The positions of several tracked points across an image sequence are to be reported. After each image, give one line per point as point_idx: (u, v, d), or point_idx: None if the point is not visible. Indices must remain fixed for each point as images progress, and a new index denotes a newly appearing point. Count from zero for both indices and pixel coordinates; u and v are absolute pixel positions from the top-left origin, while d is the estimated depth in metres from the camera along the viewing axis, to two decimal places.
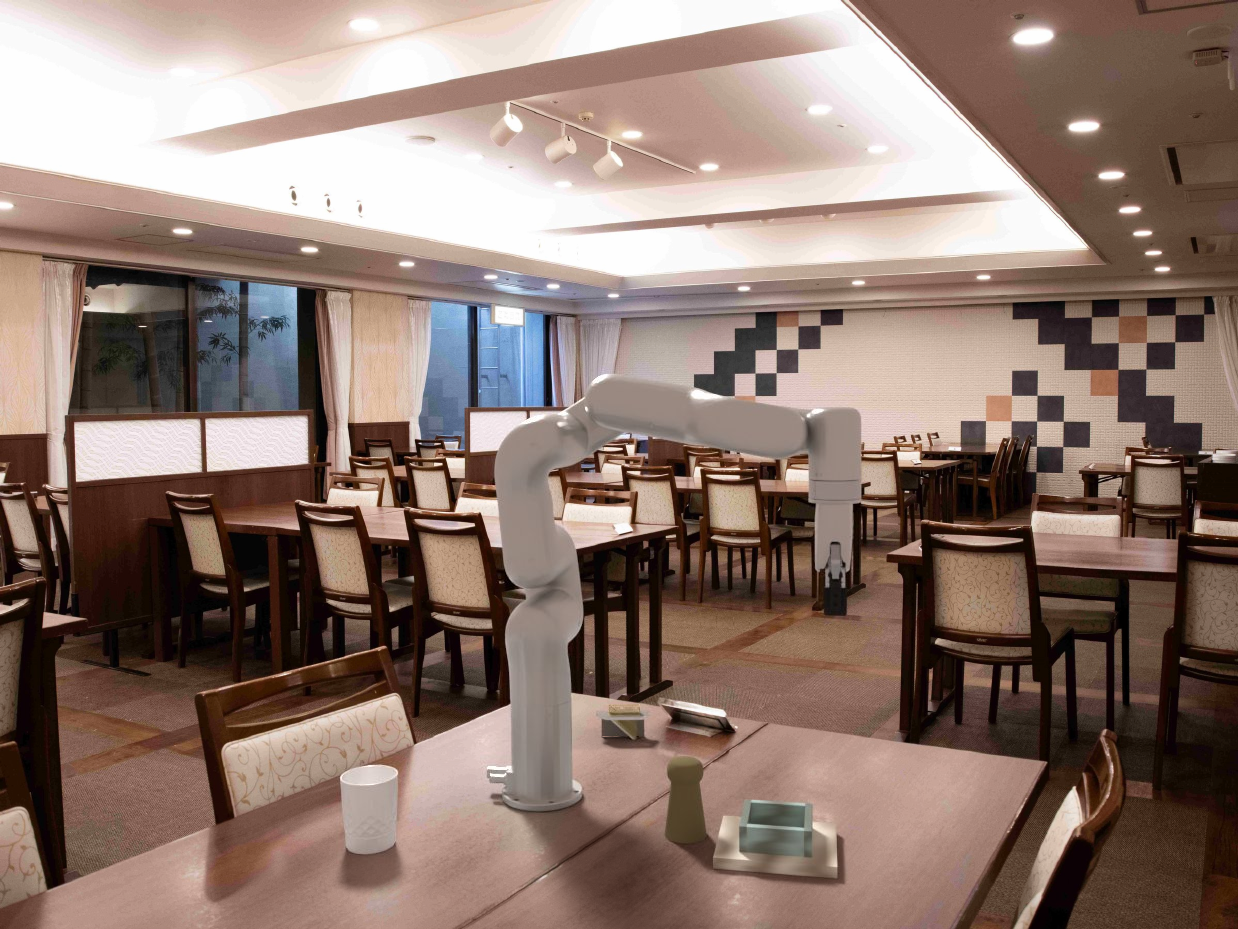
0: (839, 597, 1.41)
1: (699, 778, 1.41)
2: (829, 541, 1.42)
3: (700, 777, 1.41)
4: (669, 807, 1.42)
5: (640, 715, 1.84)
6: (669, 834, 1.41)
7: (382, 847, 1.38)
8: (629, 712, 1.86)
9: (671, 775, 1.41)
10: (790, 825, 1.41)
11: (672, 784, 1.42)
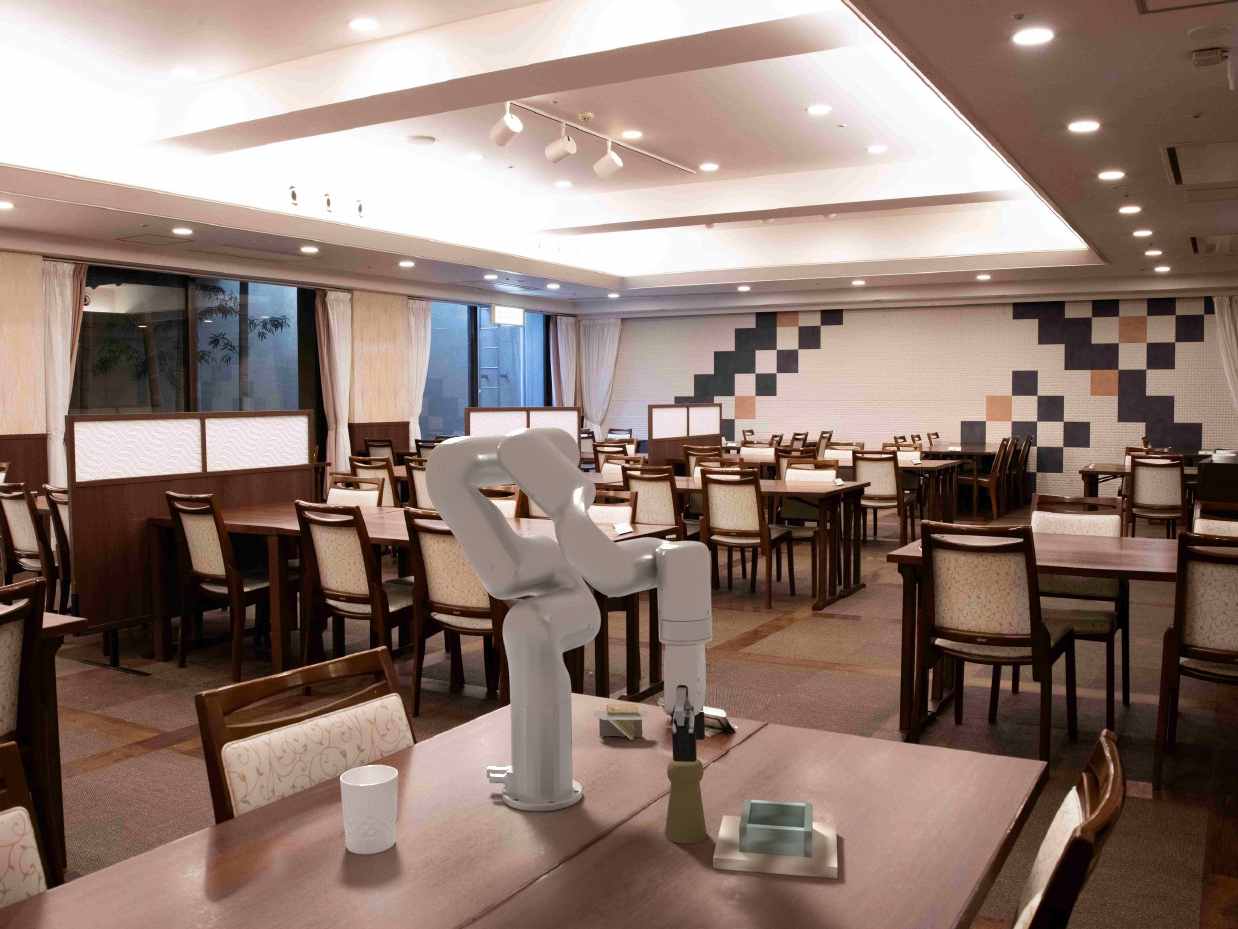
0: (687, 743, 1.36)
1: (699, 778, 1.41)
2: (676, 684, 1.37)
3: (700, 777, 1.41)
4: (669, 807, 1.42)
5: (638, 715, 1.84)
6: (669, 834, 1.41)
7: (382, 847, 1.38)
8: None
9: (671, 775, 1.41)
10: (790, 825, 1.41)
11: (672, 784, 1.42)
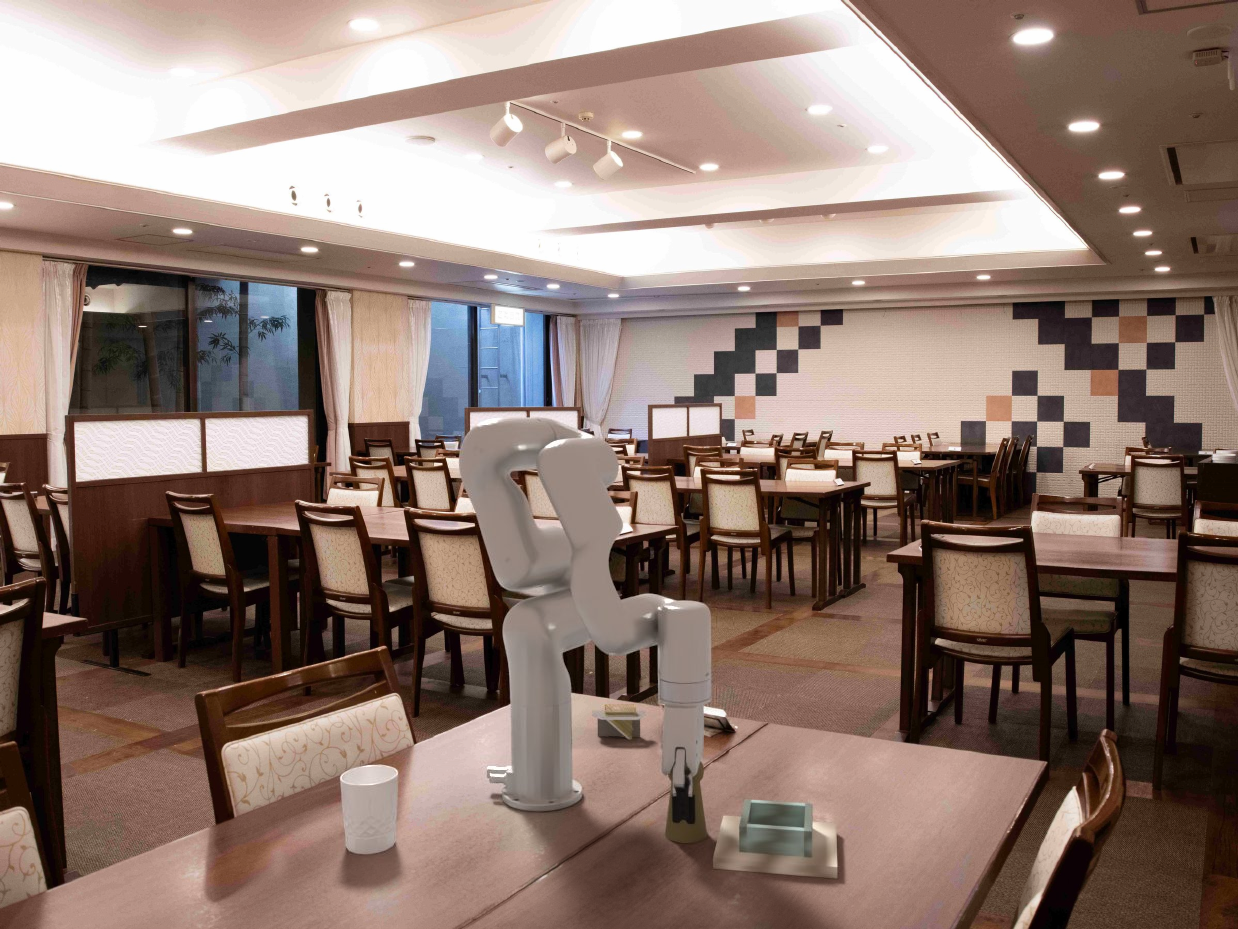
0: (686, 806, 1.40)
1: (699, 778, 1.41)
2: (674, 746, 1.38)
3: (700, 777, 1.41)
4: (669, 807, 1.42)
5: (635, 715, 1.84)
6: (669, 834, 1.42)
7: (382, 847, 1.38)
8: None
9: (671, 775, 1.41)
10: (790, 825, 1.41)
11: (672, 784, 1.42)
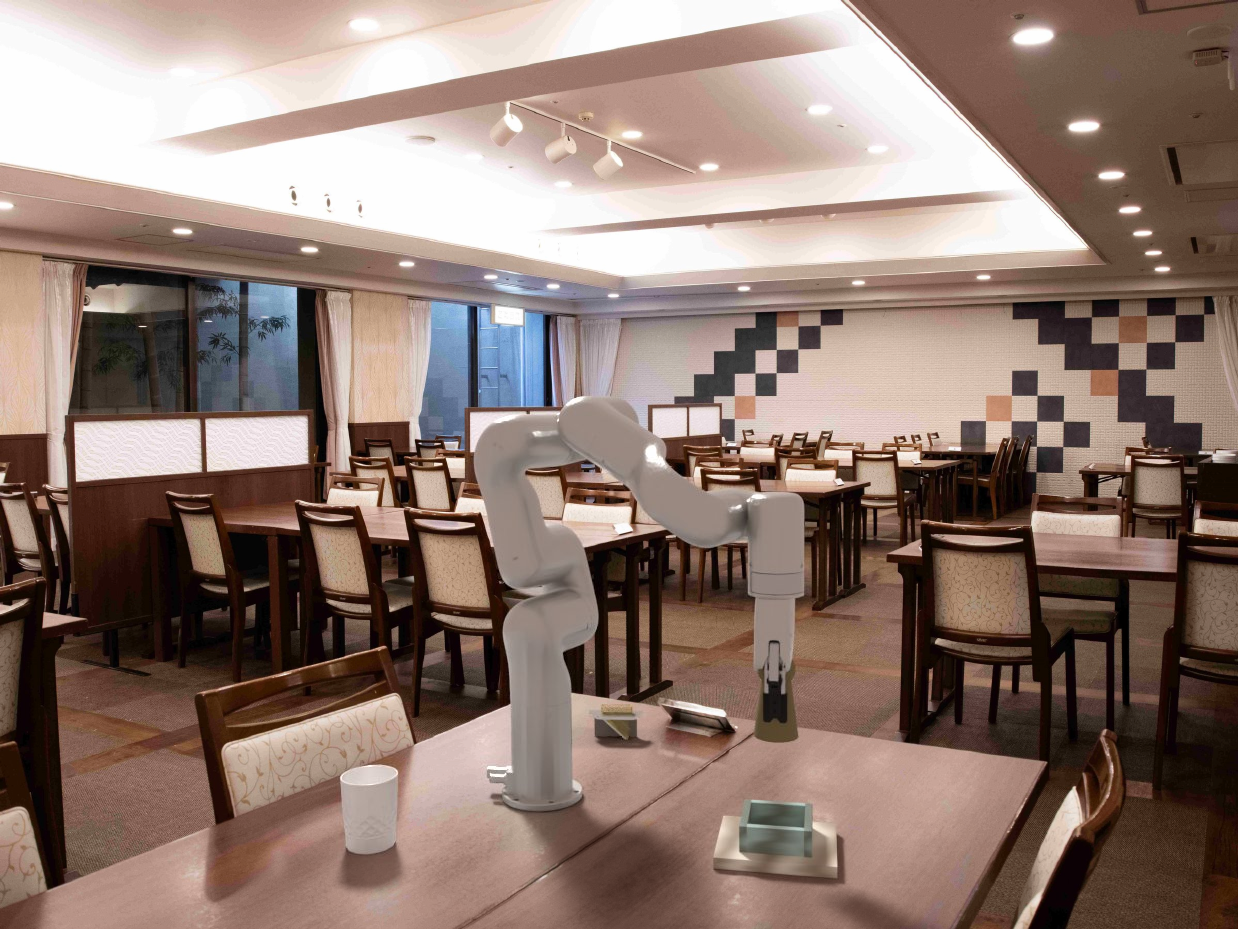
0: (779, 704, 1.33)
1: (792, 675, 1.35)
2: (768, 639, 1.31)
3: (793, 674, 1.35)
4: (759, 706, 1.36)
5: (632, 715, 1.84)
6: (760, 734, 1.35)
7: (382, 847, 1.38)
8: (622, 712, 1.86)
9: (762, 672, 1.35)
10: (790, 825, 1.41)
11: (763, 682, 1.36)
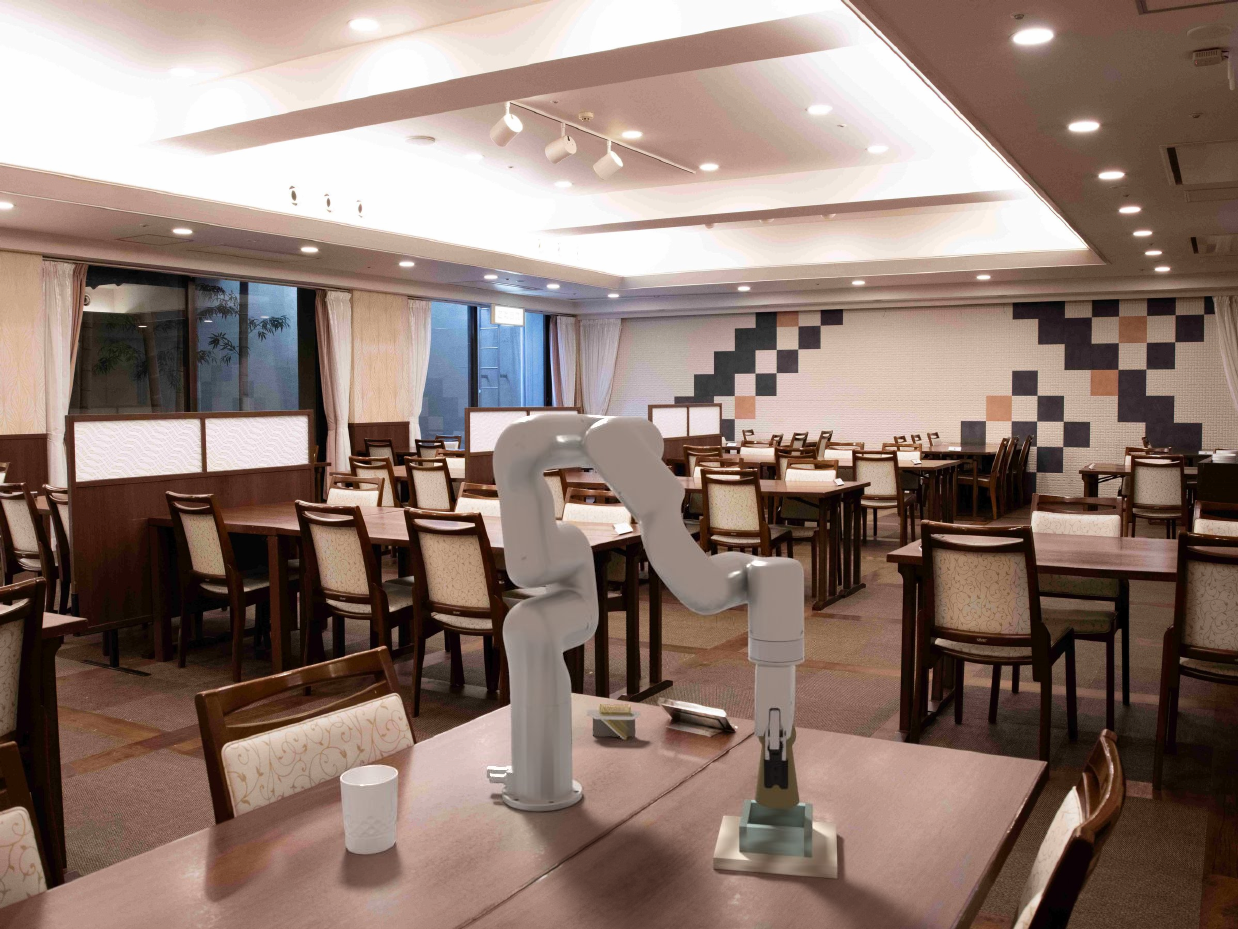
0: (780, 770, 1.34)
1: (792, 741, 1.35)
2: (768, 707, 1.32)
3: (793, 740, 1.35)
4: (760, 771, 1.36)
5: (630, 715, 1.84)
6: (761, 799, 1.36)
7: (382, 847, 1.38)
8: (620, 712, 1.86)
9: (763, 738, 1.35)
10: (790, 825, 1.41)
11: (764, 747, 1.36)
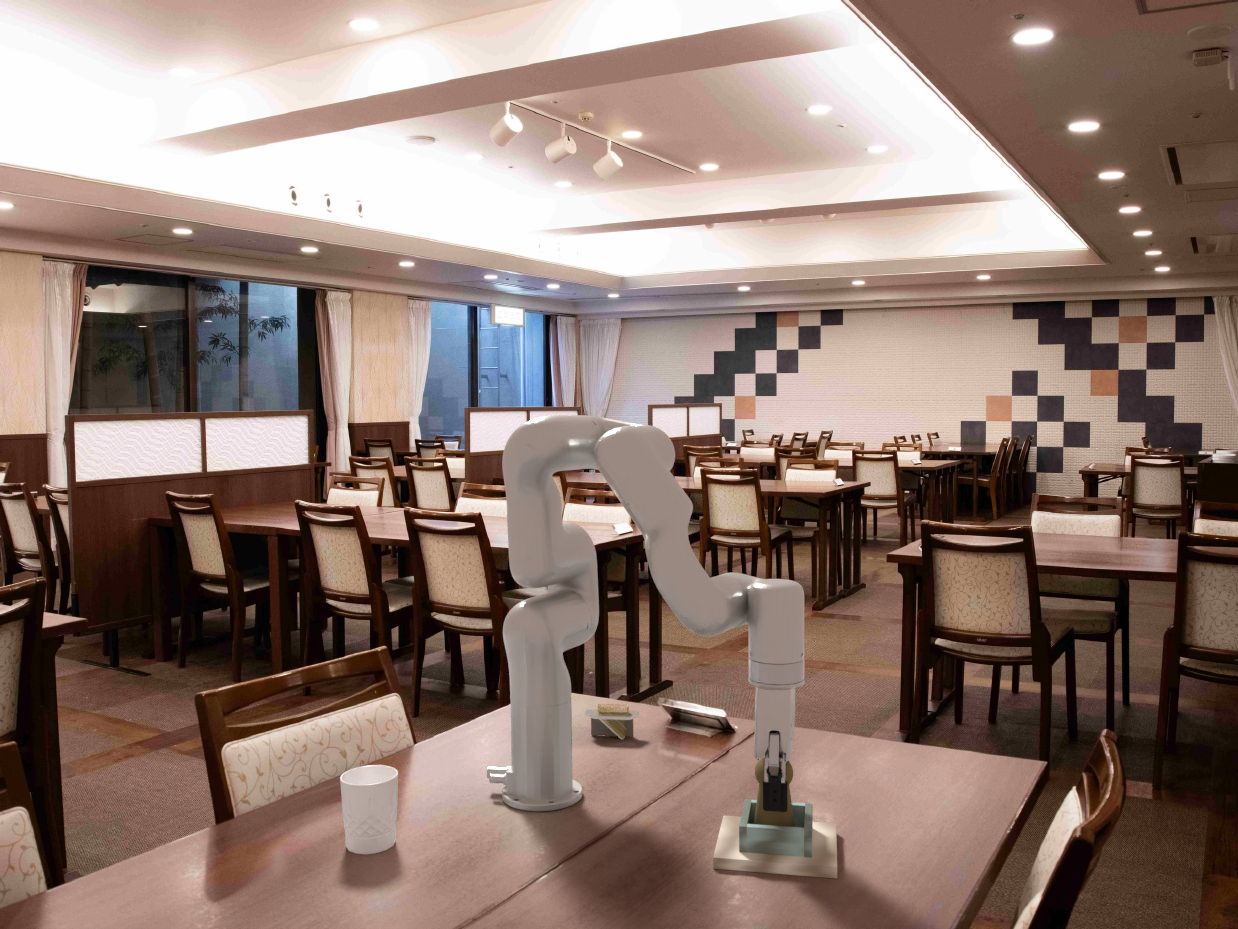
0: (779, 793, 1.32)
1: (789, 780, 1.36)
2: (768, 730, 1.32)
3: (790, 778, 1.36)
4: (758, 810, 1.37)
5: (628, 715, 1.84)
6: None
7: (382, 847, 1.38)
8: (618, 712, 1.86)
9: (760, 777, 1.36)
10: None
11: (761, 786, 1.37)
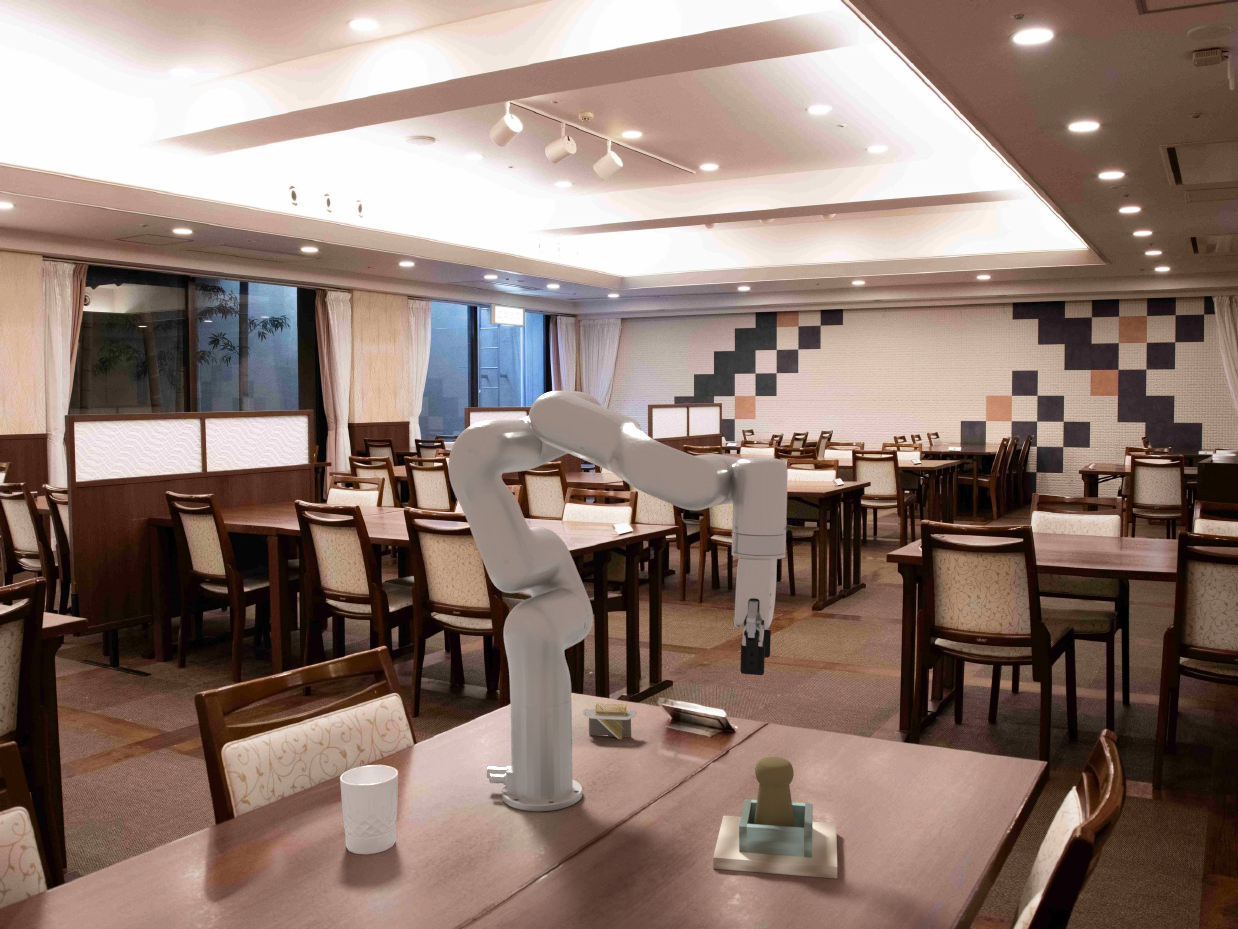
0: (756, 656, 1.37)
1: (790, 780, 1.36)
2: (748, 598, 1.37)
3: (791, 778, 1.36)
4: (758, 810, 1.37)
5: (625, 715, 1.84)
6: None
7: (382, 847, 1.38)
8: (616, 712, 1.87)
9: (761, 777, 1.36)
10: None
11: (761, 786, 1.37)
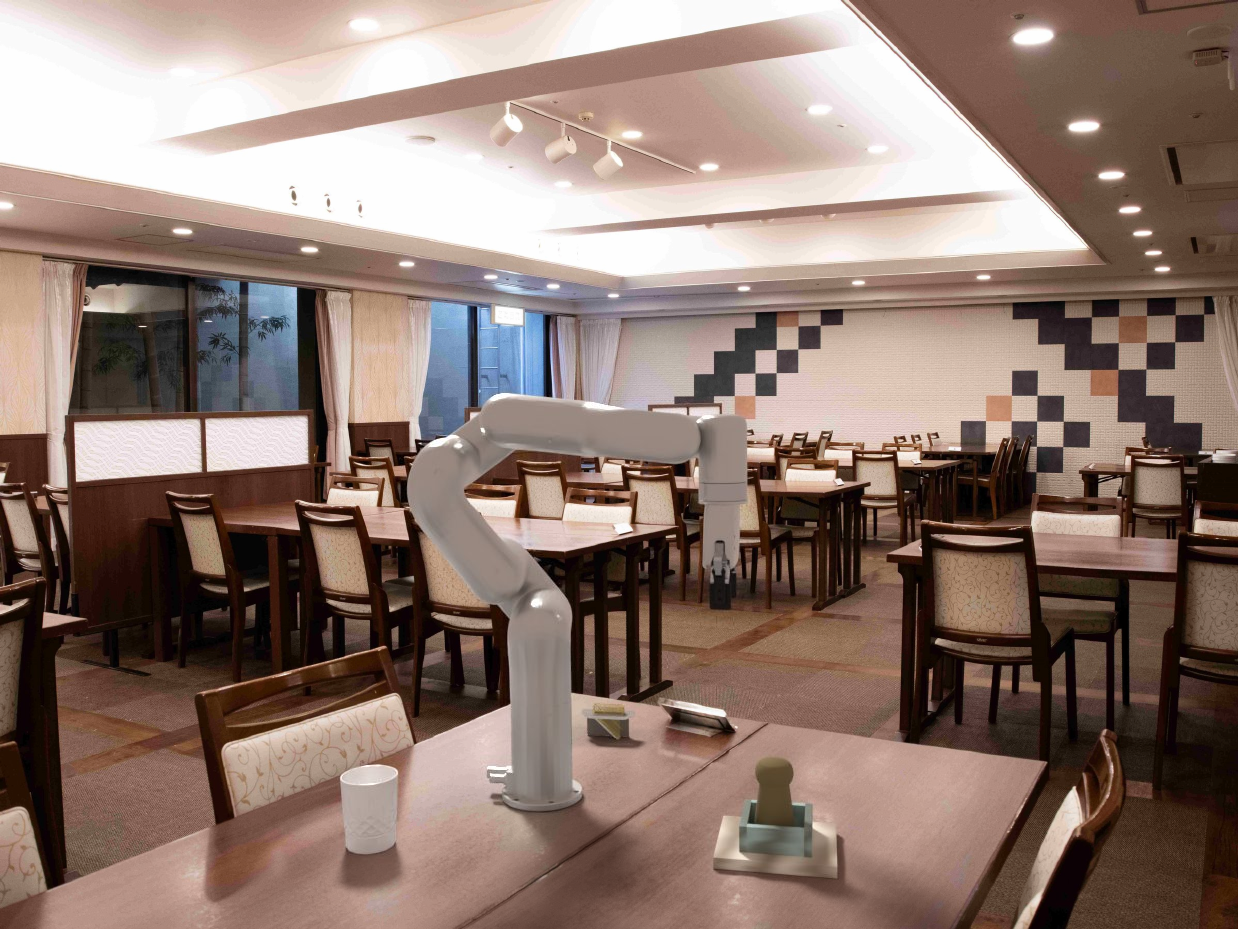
0: (723, 592, 1.50)
1: (790, 780, 1.36)
2: (714, 540, 1.51)
3: (791, 779, 1.36)
4: (758, 810, 1.37)
5: (623, 715, 1.84)
6: None
7: (382, 847, 1.38)
8: (614, 712, 1.87)
9: (761, 777, 1.36)
10: None
11: (761, 786, 1.37)
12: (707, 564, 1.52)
